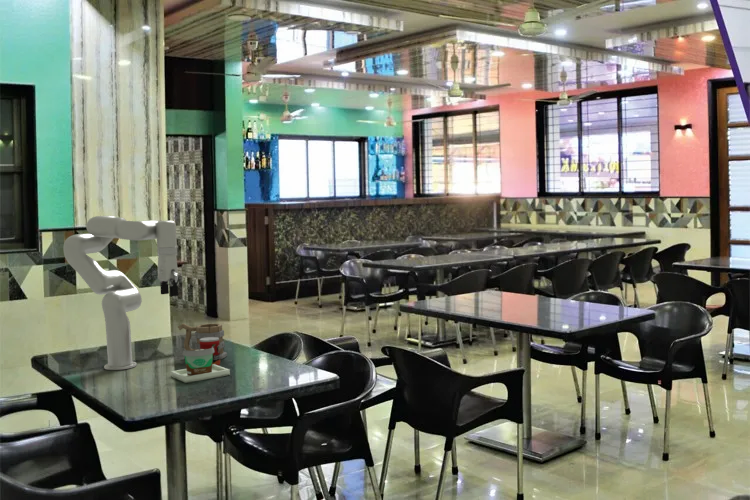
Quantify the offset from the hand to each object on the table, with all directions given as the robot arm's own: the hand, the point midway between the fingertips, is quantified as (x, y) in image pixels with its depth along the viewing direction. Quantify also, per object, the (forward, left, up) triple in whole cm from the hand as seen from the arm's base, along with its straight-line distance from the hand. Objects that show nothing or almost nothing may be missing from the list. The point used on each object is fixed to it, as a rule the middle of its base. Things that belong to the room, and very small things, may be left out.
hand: (169, 295), depth 308 cm
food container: (+19, +4, -30) cm, 35 cm away
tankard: (-15, +19, -31) cm, 39 cm away
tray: (+17, +4, -30) cm, 35 cm away
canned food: (+2, +15, -31) cm, 34 cm away
